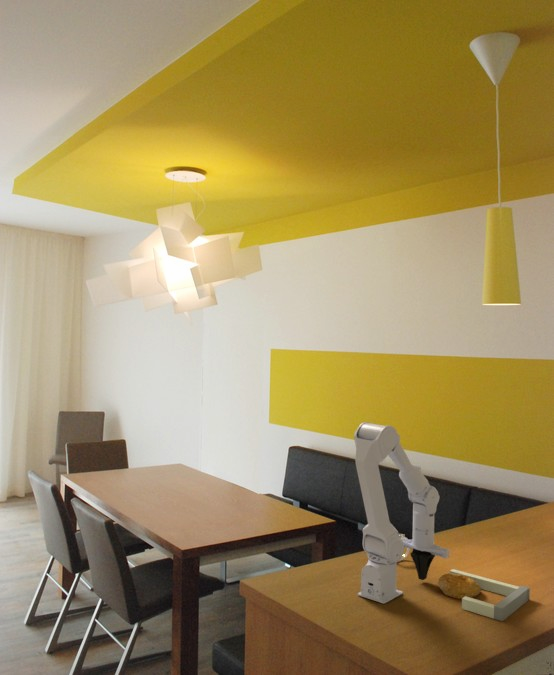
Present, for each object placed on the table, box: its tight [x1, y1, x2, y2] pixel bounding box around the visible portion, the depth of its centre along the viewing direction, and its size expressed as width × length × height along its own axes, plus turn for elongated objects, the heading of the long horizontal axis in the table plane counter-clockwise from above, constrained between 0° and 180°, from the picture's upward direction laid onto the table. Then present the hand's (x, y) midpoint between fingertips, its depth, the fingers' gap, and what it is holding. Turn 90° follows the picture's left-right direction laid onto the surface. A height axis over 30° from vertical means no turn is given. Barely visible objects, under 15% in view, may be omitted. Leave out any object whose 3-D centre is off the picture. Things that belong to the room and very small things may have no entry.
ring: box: [398, 532, 410, 562], centre depth 185 cm, size 7×3×8 cm, turn 116°
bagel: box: [437, 572, 482, 600], centre depth 161 cm, size 10×11×5 cm
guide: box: [449, 568, 531, 622], centre depth 158 cm, size 18×21×3 cm
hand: (422, 578), depth 168 cm, fingers closed
